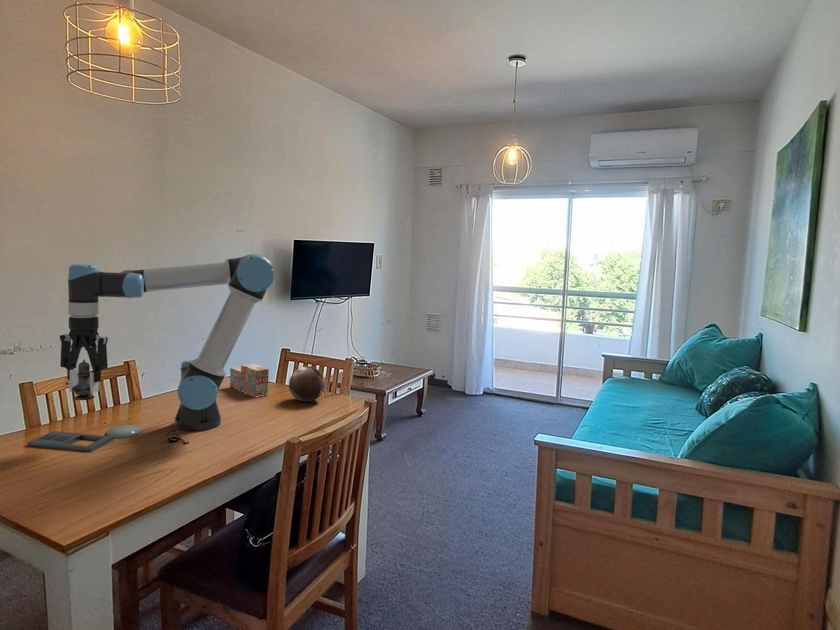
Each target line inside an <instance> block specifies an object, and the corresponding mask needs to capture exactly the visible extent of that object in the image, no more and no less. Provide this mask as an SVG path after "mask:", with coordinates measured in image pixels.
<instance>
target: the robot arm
mask: <svg viewBox="0 0 840 630" xmlns="http://www.w3.org/2000/svg"><path fill="white" fill-rule="evenodd" d="M275 277H276V274H275V268H274V265H273V263H272V261H270V259H268V258H267V257H265V256H264V255H260V254H247V255H244V256H240V257H236V258H235V257H234V258H226V259H225V260H224V262H213V263H204V264H191V265H190V264H189V265H180V266H168V267H159V268H157V267H155V268H147V269H146V268H145V269H135V270H134V269H133V270H131V269H129V270H122V271H120V272H109V271H108V272H105V271H100V270H99V267H98V265H96V264H79V263H76V264H75V263H73V264H71V265H69V267H68V278H67V287H68V288H67V289H68V306H67V307H68V315H69V317H68V329H69V330H70V331H69V332H68V333H65V334H60V335H59V341H60V344H61V345H60V365H59V366H60V367H61V368H65V369H66V374H67V375H66V376H67V377H66V378H67V380H68V381H69V392H71V393H72V392H74V389H73V386H76V385H77V384H78V375H77V374H78V366H77V363H78V360H79V357H80V354H81V350H82V349H83V348H84V349H85V351H86V352H87V356H88V359H89V361H90V363H89V364H90V365H91V366H90V367H91V368H92V369H91V370H90V393H91V394H95V393H97V392H100V389H99V388H100V383H99V382H101V381H102V371H103V370H107V369H108V368H109V366H108V349H107V343H108V341H109V340H108V339H109V338H108V337H107V336H101V335H99V333H98V329H99V317H98V315H99V297H101V298H104V297H105V298H106V297H107V298H128V299H132V298H133V299H134V298H135V299H136V298H139V299H140V298H142V297H143V295H144V293H148V292H149V293H150V292H159V291H170V290H178V289H179V290H180V289H190V288H198V287H199V288H200V287H209V286H211V287H212V286H220V285H227V287H228V289H229V293H228V296H227V298H226V301H225V302H224V304H223V306H222V309H221V310H220V313H219V314H218V317H217V319H216V321H215V322H214V325H213V326H212V328H211V331H210V332H209V335H208V336H207V339H206V341H205V342H204V345H203V347H202V349H201V351H200V353H199V355H198V357H197V358H195V359H190V360H184V361H182V362H181V364H180V381H179V385H178V387H177V396H178V399H179V402H180V403H179V407H178V409H177V412H176V415H175V418H174V428H176V429H178V430H183V431H191V432H193V431H196V432H197V431H205V430H210V429H214V428H216V427H218V426H220V425H221V423H222V416H221V413H220V410H219V406H218V404H217V398H218V394H219V389H220V387H221V386H222V383H223V381H224V379H225V377H226V372H225V369H224V368H225V365H226V364H227V362H228V359H229V358H230V355H231V353H232V352H233V349H234V348H235V345H236V343H237V342H238V339H239V337H240V335H241V334H242V332H243V329H244V327H245V325H246V323H247V321H248V319H249V317H250V315H251V312H252V311H253V308H254V306H255V305H256V304H257V303H259V302H262V301H263V299H264V297H265V294H266V293H267V291H268V289H269V288H270V287H271V286H272V285H273V283H274V280H275Z"/></svg>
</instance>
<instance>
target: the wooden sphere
mask: <svg viewBox="0 0 840 630" xmlns="http://www.w3.org/2000/svg"><path fill="white" fill-rule="evenodd" d="M325 387H326V380H325V377H324V375H323V373H322V372H321V371H320V370H319V369H317V368H315V367H314V366H301V367H299V368H298V369H296V370H295V371H294V372H293V373H292V374H291V375H290V378H289V382H288V388H289V392H290V393H291V395H292V396H293V397H294V399H296V400H297V401H300V400H301V401H300V402H303V401H310V402H312V401H311V400H314V401H315V399H316V400H317V399H319V398H320V397H321V396H322V394H323V393H324V391H325Z"/></svg>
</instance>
